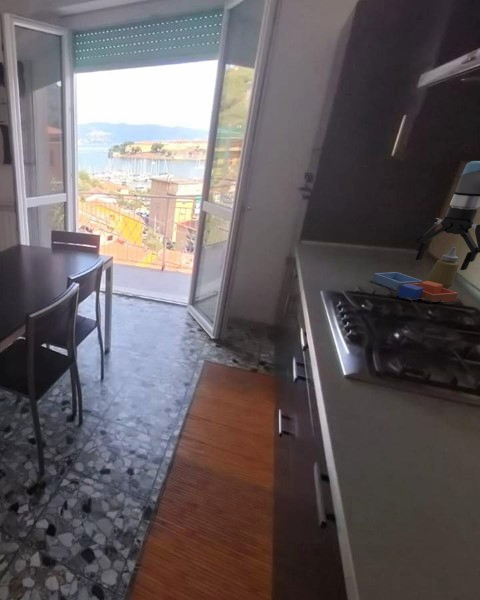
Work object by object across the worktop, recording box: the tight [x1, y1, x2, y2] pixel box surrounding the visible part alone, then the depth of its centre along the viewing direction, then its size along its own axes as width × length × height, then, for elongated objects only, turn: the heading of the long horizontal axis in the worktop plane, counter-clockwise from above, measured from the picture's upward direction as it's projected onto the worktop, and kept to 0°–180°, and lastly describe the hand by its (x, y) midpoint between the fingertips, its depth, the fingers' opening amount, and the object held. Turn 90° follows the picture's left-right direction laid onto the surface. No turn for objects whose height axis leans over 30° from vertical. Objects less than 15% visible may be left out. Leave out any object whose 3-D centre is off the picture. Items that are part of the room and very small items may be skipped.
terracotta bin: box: [404, 283, 459, 303], centre depth 140 cm, size 11×11×4 cm
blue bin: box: [371, 271, 424, 292], centre depth 152 cm, size 11×11×4 cm
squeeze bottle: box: [426, 246, 460, 290], centre depth 144 cm, size 8×8×18 cm
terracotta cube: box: [419, 280, 443, 294], centre depth 140 cm, size 5×5×5 cm
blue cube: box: [397, 284, 424, 299], centre depth 138 cm, size 5×5×5 cm
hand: (439, 264), depth 135 cm, fingers open, 13 cm apart
